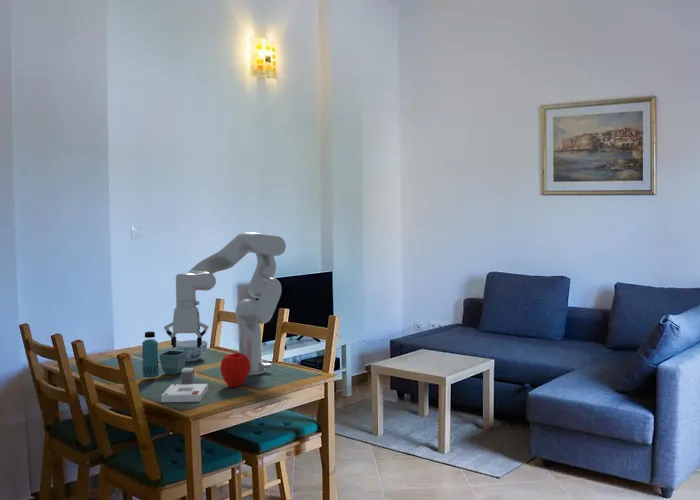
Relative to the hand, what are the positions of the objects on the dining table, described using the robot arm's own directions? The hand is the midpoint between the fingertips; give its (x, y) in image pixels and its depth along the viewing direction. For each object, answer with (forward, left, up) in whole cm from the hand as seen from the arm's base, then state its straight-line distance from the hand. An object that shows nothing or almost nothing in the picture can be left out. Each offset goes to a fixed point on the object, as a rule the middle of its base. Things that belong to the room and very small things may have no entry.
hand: (186, 347), depth 274 cm
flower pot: (+11, -22, -16) cm, 29 cm away
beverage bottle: (+18, -12, -16) cm, 27 cm away
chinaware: (+9, -49, -16) cm, 52 cm away
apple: (-19, +1, -16) cm, 25 cm away
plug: (0, 0, -16) cm, 16 cm away
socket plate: (-2, +14, -16) cm, 21 cm away
